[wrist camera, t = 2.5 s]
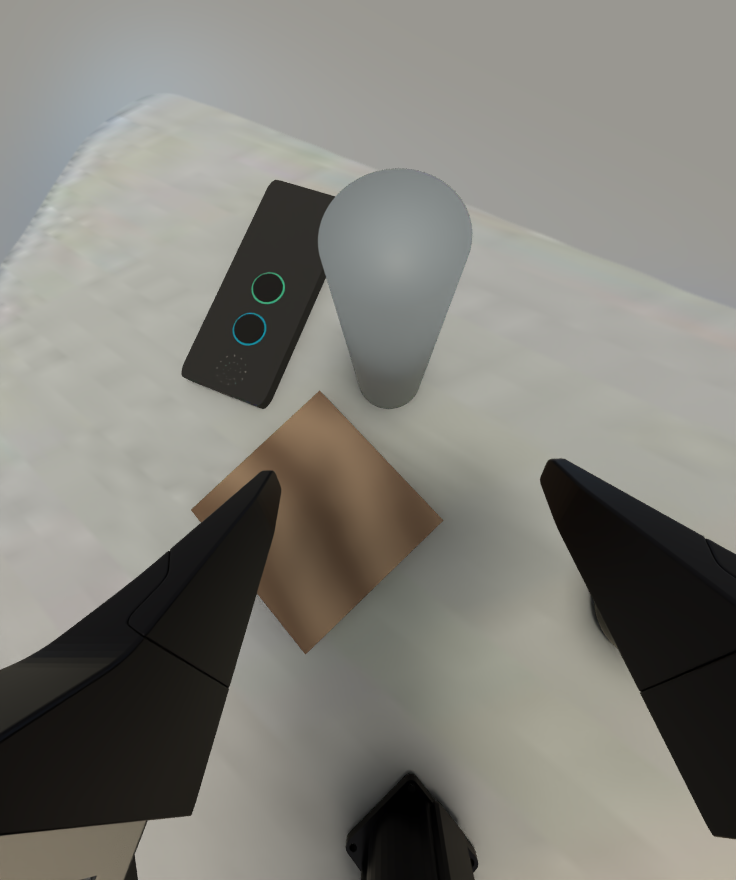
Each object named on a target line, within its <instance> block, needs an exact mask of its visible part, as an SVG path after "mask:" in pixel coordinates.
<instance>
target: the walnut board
mask: <svg viewBox="0 0 736 880" xmlns="http://www.w3.org/2000/svg"><path fill="white" fill-rule="evenodd" d="M265 470H273V471H274V472H275V473H276V475H277V478H278V480H279V483H280V485H281V498H280V504H279V509H278V515H277V521H276V527H275V532H274V536H273V540H272V543H271V547H270V550H269V554H268V557H267V560H266V564H265V567H264V571H263V574H262V577H261V581H260V584H259V588H258V591H257V594H258V595H259V596H260V598H261V599H262V600H263V601H264V603H265V604H266V605H267V606H268V608H269V609H270V610H271V612H272V613H273V614H274V615H275V617H276V618H277V619H278V620H279V622H280V623H281V624H282V625H283V627H284V628H285V629H286V630H287V632H288V633H289V634H290V636H291V637H292V638H293V639H294V641H295V642H296V643H297V644H298V646H299V647H300V648H301V649H302V651H303V652H304V653H305V654H306V653H307V652H309V651H310V650H311V649H312V648H313V647H314V646H315V645H316V644H317V643H318V642H319V641H320V640H321V639H322V638H323V637H324V636H325V635H326V634H327V633H328V632H329V631H330V630H331V629H332V628H333V627H334V626H335V625H336V624H337V623H338V622H339V621H340V620H341V619H342V618H343V617H344V616H346V615H347V614H348V613H349V612H350V611H351V610H352V609H353V608H354V607H355V606H356V605H357V604H358V603H359V602H360V601H361V600H362V599H363V598H364V597H365V596H366V595H367V594H368V593H369V592H370V591H371V590H372V589H373V588H374V587H375V586H376V585H377V584H378V583H379V582H380V581H381V580H383V579H384V578H385V577H386V576H387V575H388V574H389V573H390V572H391V571H392V570H393V569H394V568H395V567H396V566H397V565H398V564H399V563H400V562H401V561H402V560H403V559H404V558H405V557H406V556H407V555H408V554H409V553H410V552H411V551H412V550H413V549H414V548H415V547H416V546H417V545H418V544H420V543H421V542H422V541H423V540H424V539H425V538H426V537H427V536H428V535H429V534H430V533H431V532H432V531H433V530H434V529H435V528H436V527H437V526H438V525H439V524H440V523H441V522H442V521H443V520H442V519H441V517H440V516H439V515H438V514H437V513H436V512H435V511H434V510H433V509H432V508H431V507H430V506H429V505H428V504H427V503H426V502H425V501H424V500H423V499H422V498H421V496H420V495H419V494H418V493H417V492H416V491H415V490H414V489H413V488H412V487H411V486H410V485H409V484H408V483H407V482H406V481H405V480H404V479H403V478H402V477H401V475H400V474H399V473H398V472H397V471H396V470H395V469H394V468H393V467H392V466H391V465H390V464H389V463H388V462H387V461H386V460H385V459H384V458H383V457H382V456H381V454H380V453H379V452H378V451H377V450H376V449H375V448H374V447H373V446H372V445H371V444H370V443H369V442H368V441H367V440H366V439H365V438H364V437H363V436H362V435H361V434H360V432H359V431H358V430H357V429H356V428H355V427H354V426H353V425H352V424H351V423H350V422H349V421H348V420H347V419H346V418H345V417H344V416H343V415H342V414H341V413H340V411H339V410H338V409H337V408H336V407H335V406H334V405H333V404H332V403H331V402H330V401H329V400H328V399H327V398H326V397H325V396H324V395H323V394H322V393H321V392H320V391H319V392H318V393H317V394H315V395H314V396H313V397H312V398H311V399H310V400H309V401H308V402H307V403H306V404H305V405H304V406H302V407H301V408H300V409H299V410H298V411H297V412H296V413H295V414H294V415H293V416H292V417H291V418H290V419H288V420H287V421H286V422H285V423H284V424H283V425H282V426H281V427H280V428H279V429H278V430H277V431H275V432H274V433H273V434H272V435H271V436H270V437H269V438H268V439H267V440H266V441H265V442H264V443H263V444H261V445H260V446H259V447H258V448H257V449H256V450H255V451H254V452H253V453H252V454H251V455H250V456H249V457H247V458H246V459H245V460H244V461H243V462H242V463H241V464H240V465H239V466H238V467H237V468H236V469H234V470H233V471H232V472H231V473H230V474H229V475H228V476H227V477H226V478H225V479H224V480H223V481H222V482H220V483H219V484H218V485H217V486H216V487H215V488H214V489H213V490H212V491H211V492H210V493H209V494H207V495H206V496H205V497H204V498H203V499H202V500H201V501H200V502H199V503H198V504H197V505H196V506H195V507H193V508H192V509H191V511H192V512H193V513H194V514H195V516H196V517H197V518H198V519H199V521H200V522H202V521H204V520H205V519H206V518H207V517H208V516H209V515H211V514H212V513H213V512H214V511H215V510H216V509H218V508H219V507H220V506H221V505H222V504H223V503H225V502H226V501H227V500H228V499H229V498H230V497H232V496H233V495H234V494H235V493H236V492H237V491H239V490H240V489H241V488H242V487H243V486H244V485H245V484H247V483H248V482H249V481H250V480H251V479H252V478H254V477H255V476H256V475H257V474H258V473H259V472H261V471H265Z"/></svg>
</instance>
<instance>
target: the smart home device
mask: <svg viewBox="0 0 736 880" xmlns="http://www.w3.org/2000/svg"><path fill="white" fill-rule="evenodd" d="M334 198H335V196H332V195H328V194H325V193H321V192H318V191H314V190H311V189H307V188H304V187H300V186H297V185H294V184H290V183H287V182H283V181H279V180H274V181H273V182H271V184H270V185H269V186H268V188H267V190H266V192H265V194H264V196H263V198H262V200H261V203H260V205H259V207H258V209H257V211H256V213H255V215H254V217H253V219H252V221H251V224H250V226H249V228H248V230H247V232H246V234H245V236H244V238H243V240H242V242H241V245H240V247H239V249H238V251H237V253H236V255H235V257H234V259H233V261H232V263H231V266H230V268H229V270H228V272H227V274H226V276H225V278H224V280H223V282H222V284H221V287H220V289H219V291H218V293H217V295H216V297H215V299H214V301H213V303H212V305H211V308H210V310H209V312H208V314H207V316H206V318H205V320H204V322H203V324H202V326H201V329H200V331H199V333H198V335H197V337H196V339H195V341H194V343H193V345H192V347H191V350H190V352H189V354H188V356H187V358H186V360H185V362H184V365H183V368H182V376H183V377H184V378H186V379H188V380H190V381H193V382H195V383H198V384H200V385H203V386H205V387H208V388H211V389H213V390H216V391H218V392H220V393H222V394H225V395H227V396H230V397H234V398H236V399H239V400H241V401H244V402H246V403H249V404H251V405H254V406H257V407H259V408H262V409H264V408H266V407H267V406H268V405H269V404H270V402H271V401H272V399H273V397H274V394H275V392H276V390H277V387H278V385H279V383H280V381H281V378H282V376H283V374H284V371H285V369H286V367H287V365H288V362H289V360H290V358H291V356H292V353H293V351H294V349H295V346H296V344H297V342H298V340H299V337H300V335H301V333H302V331H303V328H304V326H305V324H306V321H307V319H308V317H309V315H310V312H311V310H312V308H313V305H314V303H315V301H316V299H317V296H318V294H319V292H320V290H321V287H322V285H323V283H324V280H325V278H326V275H325V272H324V268H323V265H322V262H321V259H320V255H319V249H318V234H319V228H320V224H321V220H322V218H323V216H324V213H325V211H326V209H327V208H328V206H329V204H330V203H331V202H332V200H333V199H334Z"/></svg>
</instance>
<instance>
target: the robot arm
mask: <svg viewBox="0 0 736 880" xmlns="http://www.w3.org/2000/svg"><path fill="white" fill-rule="evenodd" d="M540 483H541V486H542V489H543V492H544V494H545V497H546V500H547V502H548V505H549V508H550V510H551V513H552V516H553V519H554V521H555V524H556V526H557V528H558V530H559V532H560V534H561V536H562V538H563V540H564V542H565V544H566V546H567V548H568V550H569V552H570V554H571V556H572V558H573V560H574V562H575V564H576V566H577V568H578V570H579V572H580V574H581V576H582V578H583V580H584V582H585V584H586V586H587V588H588V590H589V592H590V594H591V596H592V598H593V600H594V602H595V604H596V606H597V608H598V610H599V612H600V614H601V616H602V618H603V620H604V622H605V624H606V626H607V628H608V630H609V632H610V634H611V636H612V638H613V640H614V642H615V644H616V646H617V648H618V650H619V652H620V654H621V656H622V658H623V660H624V662H625V664H626V666H627V668H628V670H629V672H630V674H631V676H632V678H633V679H634V681H635V683H636V685H637V687H638V689H639V691H641V692H640V694H641V696H642V698H643V700H644V702H645V704H646V706H647V708H648V710H649V712H650V714H651V716H652V718H653V720H654V722H655V724H656V726H657V728H658V730H659V732H660V734H661V736H662V738H663V740H664V742H665V744H666V746H667V748H668V750H669V752H670V753H671V755H672V757H673V759H674V761H675V763H676V765H677V767H678V769H679V771H680V773H681V775H682V777H683V779H684V781H685V783H686V785H687V787H688V789H689V791H690V793H691V795H692V797H693V799H694V801H695V803H696V805H697V807H698V809H699V811H700V813H701V815H702V817H703V819H704V821H705V823H706V825H707V826H708V828H709V830H710V831H711V833H712V835H713V836H715V837H722V838H729V839H736V554H734V553H732V552H731V551H729V550H727V549H725V548H723V547H722V546H720V545H718V544H716V543H715V542H713V541H711V540H709V539H705V538H704V537H703V536H702V535H700V534H698V533H696V532H695V531H693V530H691V529H689V528H688V527H686V526H684V525H682V524H680V523H679V522H677V521H675V520H673V519H671V518H670V517H668V516H666V515H664V514H662V513H661V512H659V511H657V510H655V509H653V508H652V507H650V506H648V505H646V504H645V503H643V502H641V501H639V500H637V499H636V498H634V497H632V496H630V495H628V494H627V493H625V492H623V491H621V490H619V489H618V488H616V487H614V486H612V485H611V484H609V483H607V482H605V481H603V480H602V479H600V478H598V477H596V476H594V475H593V474H591V473H589V472H587V471H585V470H584V469H582V468H580V467H578V466H576V465H575V464H573V463H571V462H569V461H568V460H566V459H562V458H560V459H550V460H548V461H547V463H546V466H545V468H544V470H543V472H542V475H541V477H540ZM280 498H281V485H280V483H279V480H278V478H277V475H276V473H275V472H274V471H273V470H265V471H261V472H259V473H258V474H257V475H256V476H255V477H254V478H252V479H251V480H250V481H249V482H248V483H247V484H245V485H244V486H243V487H242V488H241V489H240V490H239V491H237V492H236V493H235V494H234V495H233V496H232V497H230V498H229V499H228V500H227V501H226V502H225V503H223V504H222V505H221V506H220V507H219V508H218V509H216V510H215V511H214V512H213V513H212V514H211V515H209V516H208V517H207V518H206V519H205V520H204V521H202V522H201V523H200V524H199V525H198V526H197V527H196V528H194V529H193V530H192V531H191V532H190V533H189V534H187V535H186V536H185V537H184V538H183V539H182V540H180V541H179V542H178V543H177V544H176V545H175V546H173V547H172V548H171V549H170V551H168V552H166V553H165V554H164V555H163V556H162V557H161V558H159V559H158V560H157V561H156V562H155V563H153V564H152V565H151V566H150V567H149V568H147V569H146V570H145V571H144V572H143V573H141V574H140V575H139V576H138V577H137V578H135V579H134V580H133V581H132V582H130V583H129V584H128V585H126V586H125V587H124V588H123V589H121V590H120V591H119V592H117V593H116V594H115V595H114V596H112V597H111V598H110V599H108V600H107V601H106V602H104V603H103V604H102V605H100V606H99V607H98V608H97V609H95V610H94V611H93V612H91V613H90V614H89V615H87V616H86V617H85V618H83V619H82V620H81V621H80V622H78V623H77V624H76V625H74V626H73V627H72V628H70V629H69V630H68V631H66V632H65V633H64V634H62V635H61V636H60V637H58V638H57V639H56V640H54V641H53V642H51V643H50V644H49V645H47V646H45V647H44V648H42V649H41V650H39V651H38V652H36V653H34V654H32V655H31V656H29V657H27V658H25V659H23V660H21V661H19V662H17V663H15V664H13V665H10V666H8V667H6V668H3V669H1V670H0V880H138V877H137V869H136V862H135V852H136V850H137V847H138V844H139V842H140V839H141V836H142V834H143V831H144V829H145V826H146V823H147V821H148V820H156V819H165V818H175V817H184V816H191V815H192V812H193V809H194V806H195V803H196V800H197V796H198V793H199V790H200V786H201V783H202V779H203V776H204V773H205V769H206V766H207V762H208V759H209V755H210V752H211V749H212V745H213V742H214V738H215V735H216V732H217V728H218V725H219V721H220V718H221V715H222V711H223V708H224V704H225V701H226V697H227V694H228V691H229V686H230V683H231V680H232V676H233V673H234V670H235V666H236V663H237V659H238V656H239V652H240V649H241V646H242V642H243V639H244V635H245V632H246V629H247V625H248V622H249V618H250V615H251V612H252V608H253V605H254V601H255V598H256V594H257V591H258V588H259V584H260V581H261V577H262V574H263V571H264V567H265V564H266V560H267V557H268V554H269V550H270V547H271V543H272V540H273V536H274V532H275V527H276V521H277V515H278V509H279V504H280ZM410 784H413V786H410ZM352 843H354V844H352ZM346 851H347V853H348V854H349V856H350V857H351V858H352V860H353V861H354V862H355V864H356V865H357V867H358V868H359V869H360V871H361V880H474V875H473V872H474V871H475V870H476V869H477V867H478V860H477V855H476V852H475V850H474V848H473V847H472V846H471V844H470V843H469V842H468V841H467V839H466V838H465V835H464V833H463V832H462V830H461V829H460V828H459V827H458V825H457V824H456V823H455V822H454V820H453V819H452V818H451V817H450V815H449V814H448V813H447V812H446V810H445V809H444V808H443V807H442V805H441V804H440V803H439V802H437V801H436V800H435V799H434V798H433V797H432V796H431V794H430V793H429V792H428V791H427V789H426V788H425V787H424V786H423V784H422V783H421V782H420V781H419V779H418V778H417V777H416V776H415V775H414V774H408V775H406V776H405V777H404V778H403V779H402V780H401V781H400V782H399V783H398V784H397V785H396V786H395V787H394V788H393V789H392V790H391V791H390V792H389V793H388V794H387V795H386V796H385V797H384V798H383V799H382V800H381V801H380V802H379V803H378V804H377V805H376V806H375V807H374V808H373V810H372V811H371V812H370V813H369V814H368V815H367V816H366V817H365V818H364V819H363V820H362V821H361V822H360V823H359V824H358V825H357V826H356V827H355V828H354V829H353V830H352V831H351V832H350V833H349V834H348V836H347V841H346Z"/></svg>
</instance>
